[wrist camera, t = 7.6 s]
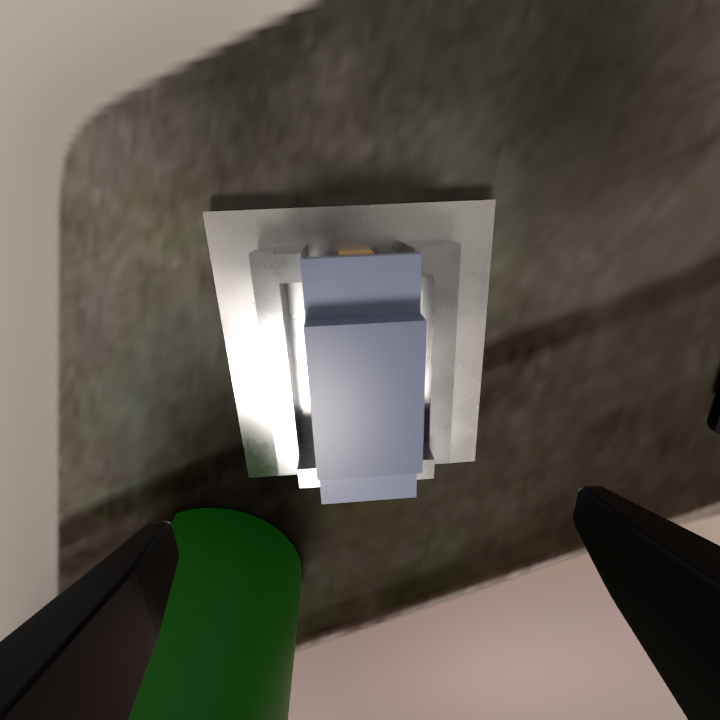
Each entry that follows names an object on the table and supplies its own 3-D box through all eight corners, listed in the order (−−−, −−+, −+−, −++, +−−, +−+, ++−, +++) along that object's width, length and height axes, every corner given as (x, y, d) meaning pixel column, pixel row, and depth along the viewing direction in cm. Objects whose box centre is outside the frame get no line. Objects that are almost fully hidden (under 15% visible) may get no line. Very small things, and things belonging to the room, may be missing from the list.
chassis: (486, 199, 17) (529, 197, 13) (468, 450, 22) (496, 499, 18) (209, 211, 17) (174, 212, 13) (252, 466, 21) (235, 520, 18)
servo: (401, 244, 17) (428, 257, 12) (400, 444, 20) (421, 514, 16) (306, 248, 16) (297, 263, 12) (323, 449, 20) (320, 521, 15)
